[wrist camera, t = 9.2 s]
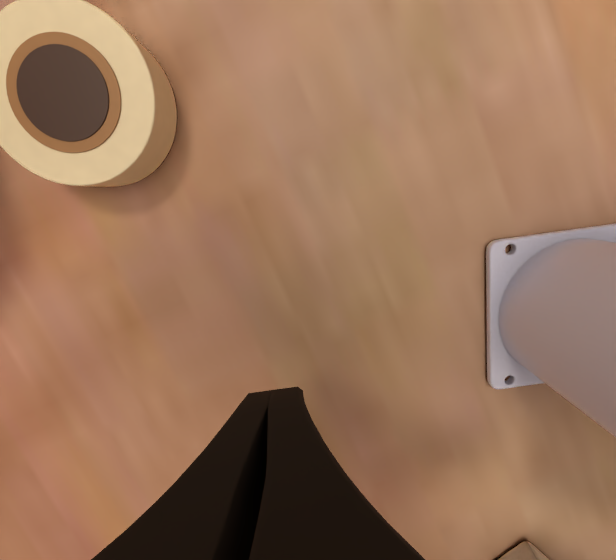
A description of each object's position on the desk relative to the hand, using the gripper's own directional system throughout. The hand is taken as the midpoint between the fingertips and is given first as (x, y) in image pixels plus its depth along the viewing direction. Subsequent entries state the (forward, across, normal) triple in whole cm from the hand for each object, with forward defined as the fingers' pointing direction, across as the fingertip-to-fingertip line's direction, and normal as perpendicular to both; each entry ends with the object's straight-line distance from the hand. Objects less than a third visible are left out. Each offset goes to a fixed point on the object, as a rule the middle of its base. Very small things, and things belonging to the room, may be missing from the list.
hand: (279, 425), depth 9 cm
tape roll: (+9, +7, -10) cm, 15 cm away
